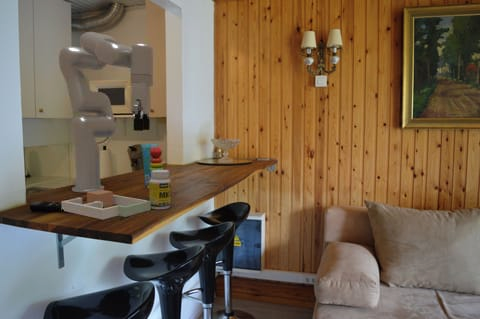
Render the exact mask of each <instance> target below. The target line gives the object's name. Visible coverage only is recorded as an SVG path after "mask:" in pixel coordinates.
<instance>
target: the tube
mask: <svg viewBox="0 0 480 319" xmlns="http://www.w3.org/2000/svg"><path fill="white" fill-rule="evenodd" d="M140 145H141V153H142V154H141V155H142V164H143V175H144V176H143V177H144V178H143V180H144V185H145V187H146V186H147V187H148V185H149V184H148V182H149V179H148V178H149V172H150V171H149V168H150V163H152V162H150V159H151V158H153V157H151V155H150V150H151V148H153V147H159V143H141V144H140Z"/></svg>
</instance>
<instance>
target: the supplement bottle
mask: <svg viewBox="0 0 480 319" xmlns="http://www.w3.org/2000/svg"><path fill="white" fill-rule="evenodd" d="M151 177H152V179H150V181H149V189H148V193H149V194H148V201H151V210H152V209H153V210H167V209H169V208H171V204H172V203H171V200H172V199H171V198H172V197H171V192H172V190H171V189H172V188H171V187H172V185H171V184H172V181H171V179H170V178H169V177H170V170H168V169H163V170H152V171H151Z"/></svg>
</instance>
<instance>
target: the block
mask: <svg viewBox="0 0 480 319" xmlns="http://www.w3.org/2000/svg"><path fill="white" fill-rule="evenodd" d="M113 195H114V192H113V191H110V190H105V189H104V190H97V191H92V192H86V204H88V203H93V202H94V201H100V202H103V207H104V208H108V207H113V206H114V204H113Z"/></svg>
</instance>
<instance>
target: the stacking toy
mask: <svg viewBox="0 0 480 319" xmlns="http://www.w3.org/2000/svg"><path fill="white" fill-rule="evenodd" d="M162 154H163V151H162V149H161V148H160V147H159V146H158V147H153V148H151V150H150V155H151V157H153V158H151V159H150V162H152V163H150V168H149V171H150V172H149V178H148V179H149V181H150V179H152V177H151V171H152V170H164V167H163V166H164V164H163V159H162V157H161V156H162ZM148 184H149V182H148ZM147 190H149V185H148V186H147Z"/></svg>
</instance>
